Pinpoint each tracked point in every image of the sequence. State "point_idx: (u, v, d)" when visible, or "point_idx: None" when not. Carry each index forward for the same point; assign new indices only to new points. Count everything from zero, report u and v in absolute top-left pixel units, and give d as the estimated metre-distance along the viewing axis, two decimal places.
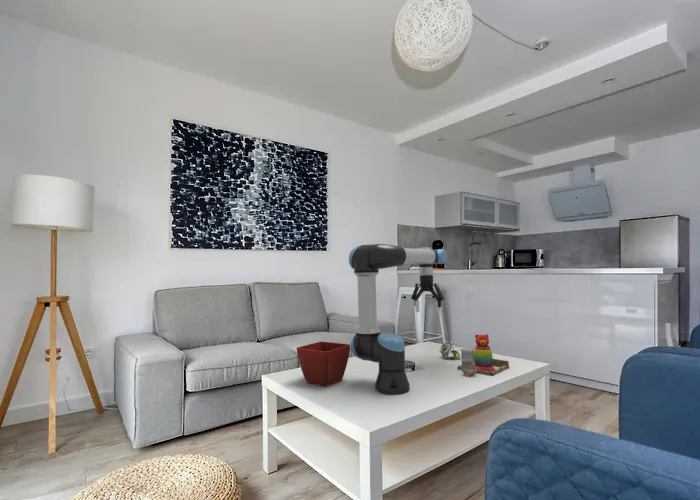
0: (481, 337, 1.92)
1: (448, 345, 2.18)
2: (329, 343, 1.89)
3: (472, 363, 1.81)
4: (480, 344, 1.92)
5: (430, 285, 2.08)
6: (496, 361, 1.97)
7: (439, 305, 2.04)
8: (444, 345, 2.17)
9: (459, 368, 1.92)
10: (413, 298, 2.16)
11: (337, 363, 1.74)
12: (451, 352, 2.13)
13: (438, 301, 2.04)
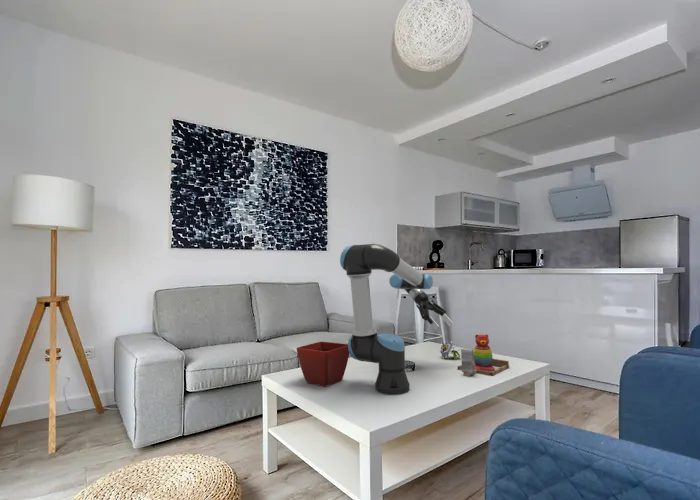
0: (481, 337, 1.92)
1: (448, 345, 2.18)
2: (329, 343, 1.89)
3: (472, 363, 1.81)
4: (480, 344, 1.92)
5: (430, 302, 2.02)
6: (496, 361, 1.97)
7: (447, 317, 2.00)
8: (444, 345, 2.17)
9: (459, 368, 1.92)
10: None
11: (337, 363, 1.74)
12: (451, 352, 2.13)
13: None
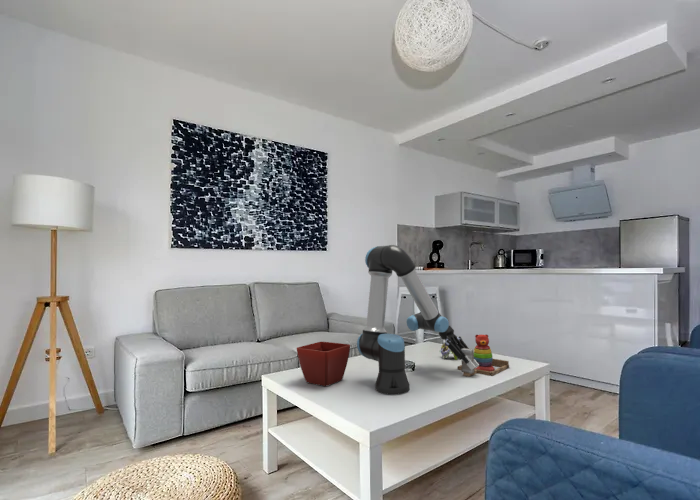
0: (481, 337, 1.92)
1: None
2: (329, 343, 1.89)
3: None
4: (480, 344, 1.92)
5: (455, 336, 1.91)
6: (496, 361, 1.97)
7: None
8: (444, 345, 2.16)
9: (459, 368, 1.92)
10: None
11: (337, 363, 1.74)
12: (451, 352, 2.13)
13: None
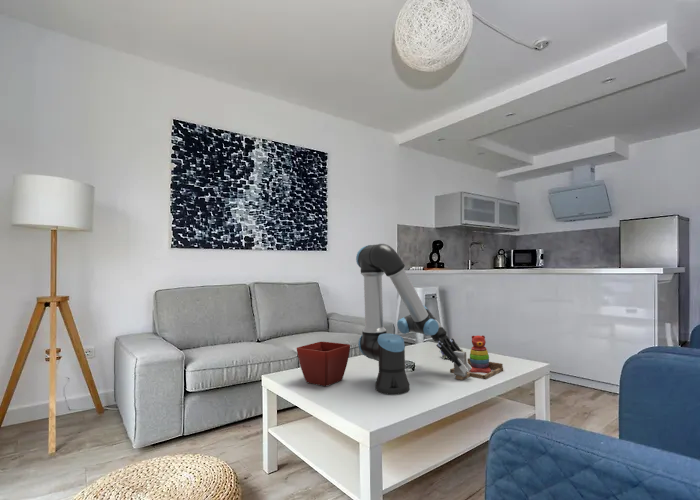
0: (478, 338, 1.89)
1: None
2: (329, 343, 1.89)
3: None
4: (477, 345, 1.89)
5: (448, 338, 1.86)
6: (490, 364, 1.92)
7: None
8: None
9: (452, 371, 1.87)
10: None
11: (337, 363, 1.74)
12: None
13: None
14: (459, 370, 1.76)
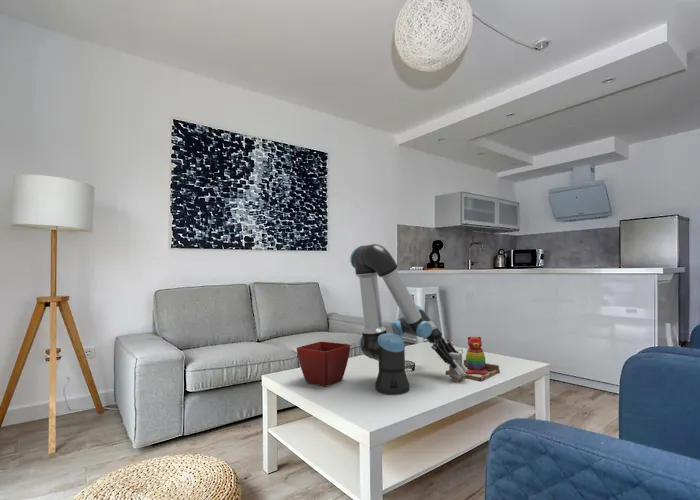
0: (474, 339, 1.86)
1: None
2: (329, 343, 1.89)
3: None
4: (473, 347, 1.86)
5: (443, 339, 1.83)
6: (486, 366, 1.89)
7: None
8: None
9: (447, 373, 1.84)
10: None
11: (337, 363, 1.74)
12: None
13: None
14: (454, 372, 1.73)
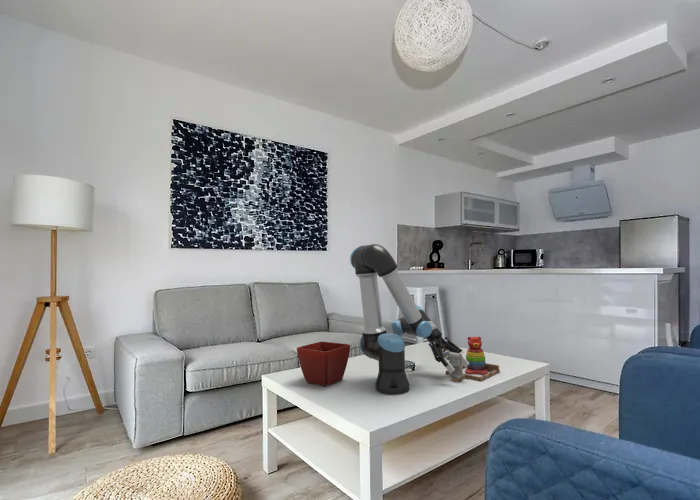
0: (474, 339, 1.86)
1: None
2: (329, 343, 1.89)
3: (460, 368, 1.73)
4: (473, 347, 1.86)
5: (443, 339, 1.83)
6: (486, 366, 1.89)
7: None
8: None
9: (447, 373, 1.84)
10: (440, 357, 1.70)
11: (337, 363, 1.74)
12: None
13: (460, 352, 1.81)
14: (454, 372, 1.73)
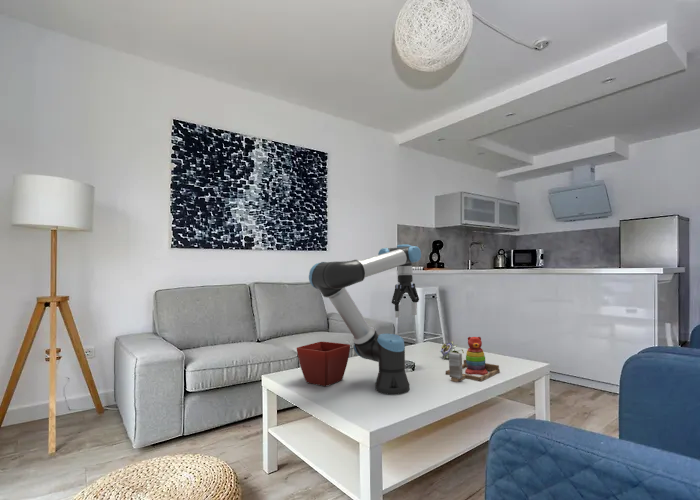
0: (474, 339, 1.86)
1: (449, 345, 2.17)
2: (329, 343, 1.89)
3: (460, 368, 1.73)
4: (473, 347, 1.86)
5: (410, 285, 1.93)
6: (486, 366, 1.89)
7: (416, 306, 1.96)
8: (445, 345, 2.16)
9: (447, 373, 1.84)
10: None
11: (337, 363, 1.74)
12: None
13: (416, 302, 1.96)
14: (454, 372, 1.73)
